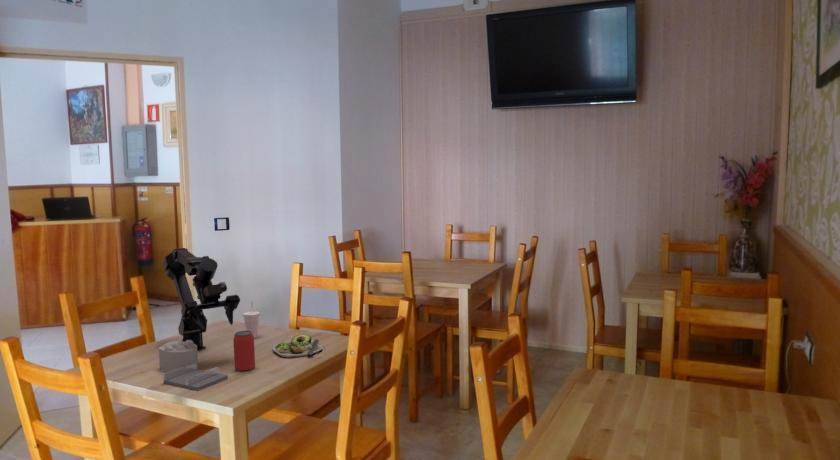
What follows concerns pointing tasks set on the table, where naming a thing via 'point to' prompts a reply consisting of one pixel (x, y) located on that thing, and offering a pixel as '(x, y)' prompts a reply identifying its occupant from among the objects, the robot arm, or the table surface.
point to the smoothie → (252, 321)
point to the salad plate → (298, 347)
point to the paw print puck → (177, 355)
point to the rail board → (193, 377)
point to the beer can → (244, 351)
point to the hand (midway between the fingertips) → (218, 326)
